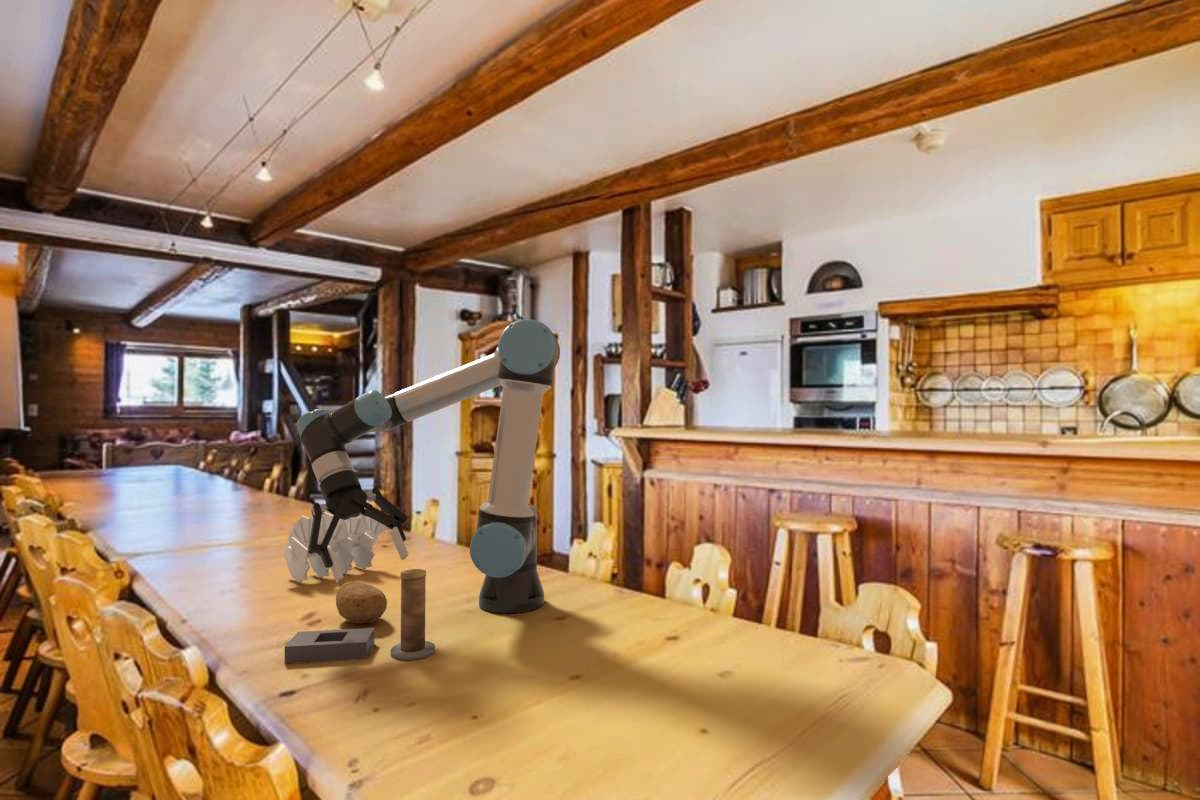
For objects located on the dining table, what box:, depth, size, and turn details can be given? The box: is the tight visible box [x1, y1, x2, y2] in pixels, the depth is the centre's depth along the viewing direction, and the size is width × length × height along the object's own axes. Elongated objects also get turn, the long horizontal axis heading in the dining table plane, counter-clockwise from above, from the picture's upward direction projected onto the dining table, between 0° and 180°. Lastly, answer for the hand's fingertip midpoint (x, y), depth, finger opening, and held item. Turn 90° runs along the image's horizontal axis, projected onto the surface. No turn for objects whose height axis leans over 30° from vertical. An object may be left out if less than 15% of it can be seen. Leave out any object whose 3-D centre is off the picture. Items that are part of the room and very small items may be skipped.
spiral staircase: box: [283, 508, 390, 584], centre depth 180 cm, size 18×18×25 cm
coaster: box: [390, 640, 436, 661], centre depth 122 cm, size 8×8×1 cm
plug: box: [400, 568, 427, 652], centre depth 123 cm, size 5×5×14 cm
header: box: [284, 627, 375, 664], centre depth 122 cm, size 14×8×3 cm, turn 99°
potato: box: [335, 580, 388, 624], centre depth 140 cm, size 10×14×8 cm
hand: (373, 568), depth 132 cm, fingers open, 13 cm apart
